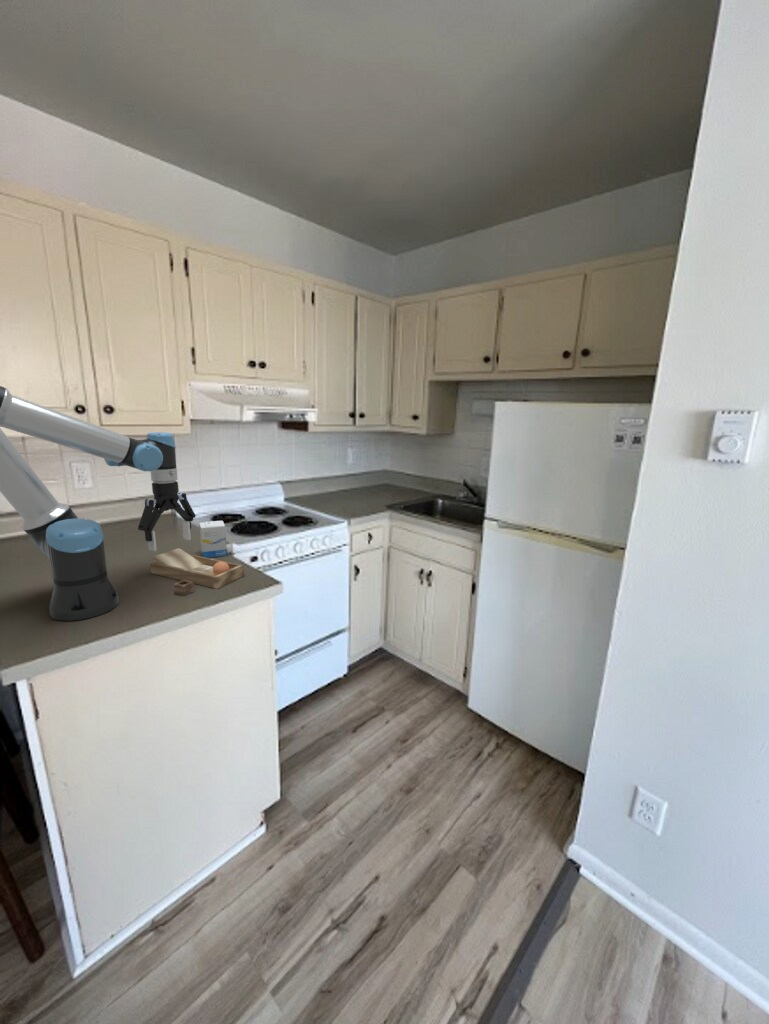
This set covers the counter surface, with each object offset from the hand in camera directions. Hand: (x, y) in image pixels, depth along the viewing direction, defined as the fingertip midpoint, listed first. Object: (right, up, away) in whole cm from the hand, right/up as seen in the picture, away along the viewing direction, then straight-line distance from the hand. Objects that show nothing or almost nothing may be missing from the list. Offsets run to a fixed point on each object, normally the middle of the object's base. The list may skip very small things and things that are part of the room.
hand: (170, 544), depth 142 cm
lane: (+10, -10, -2) cm, 14 cm away
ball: (+19, -7, -7) cm, 22 cm away
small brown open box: (+12, -13, -16) cm, 24 cm away
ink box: (+7, -5, +18) cm, 20 cm away
